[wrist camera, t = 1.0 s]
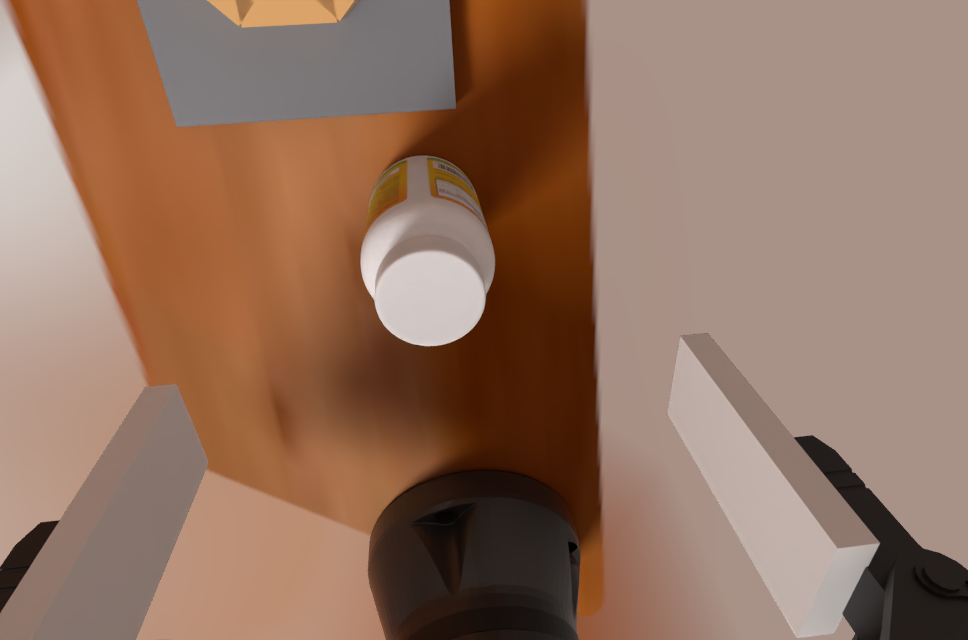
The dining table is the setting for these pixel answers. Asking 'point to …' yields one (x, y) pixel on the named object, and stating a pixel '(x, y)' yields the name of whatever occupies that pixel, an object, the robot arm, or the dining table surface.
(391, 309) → the supplement bottle
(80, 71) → the dining table surface
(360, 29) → the socket plate
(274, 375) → the dining table surface
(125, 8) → the dining table surface
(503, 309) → the dining table surface
